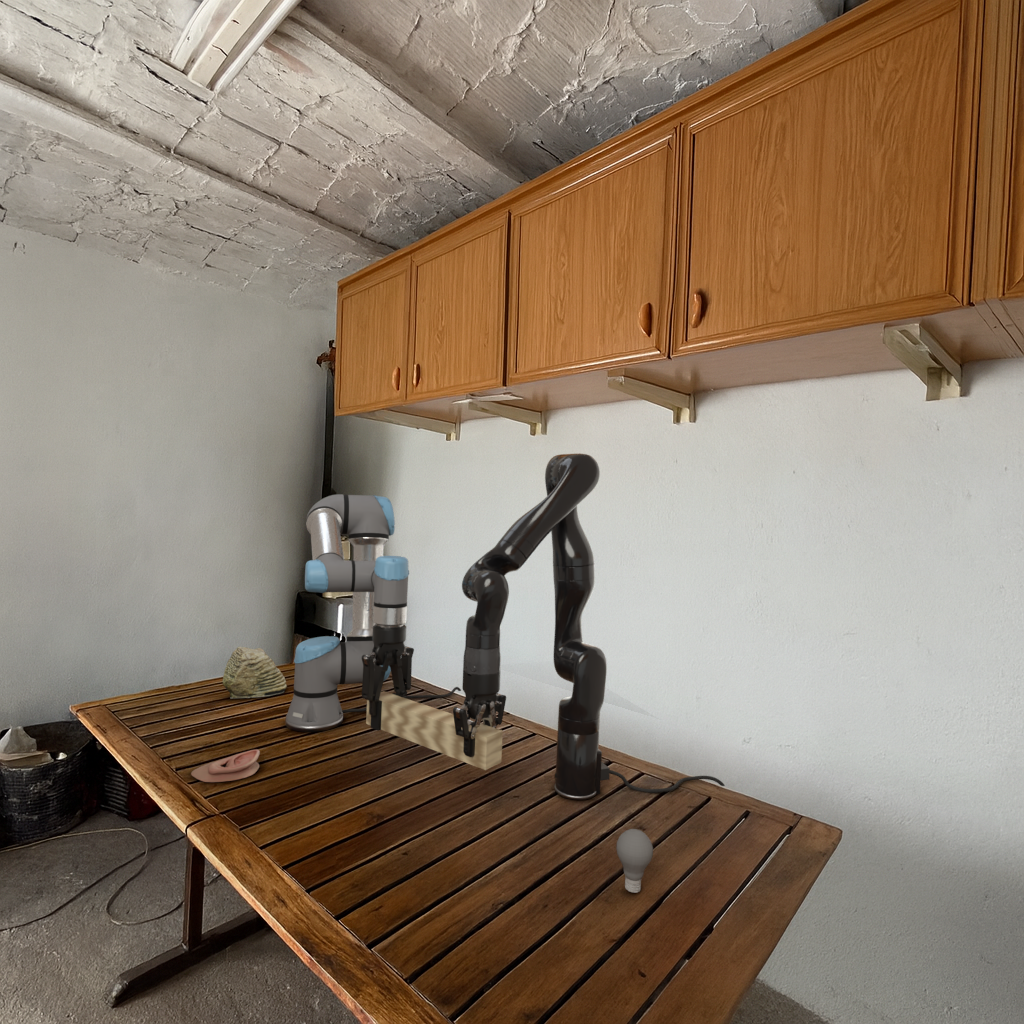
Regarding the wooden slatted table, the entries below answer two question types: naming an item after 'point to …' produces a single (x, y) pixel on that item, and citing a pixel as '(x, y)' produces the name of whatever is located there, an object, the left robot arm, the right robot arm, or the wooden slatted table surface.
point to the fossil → (252, 674)
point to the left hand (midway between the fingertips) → (385, 725)
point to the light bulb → (634, 857)
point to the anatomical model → (229, 768)
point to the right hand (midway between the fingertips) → (478, 751)
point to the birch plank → (437, 730)
